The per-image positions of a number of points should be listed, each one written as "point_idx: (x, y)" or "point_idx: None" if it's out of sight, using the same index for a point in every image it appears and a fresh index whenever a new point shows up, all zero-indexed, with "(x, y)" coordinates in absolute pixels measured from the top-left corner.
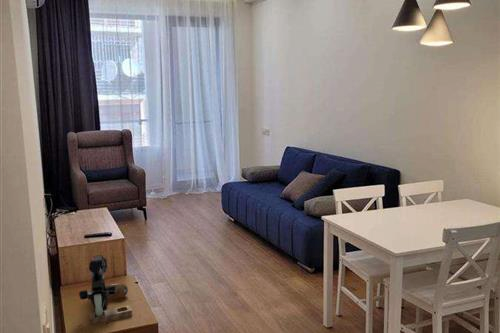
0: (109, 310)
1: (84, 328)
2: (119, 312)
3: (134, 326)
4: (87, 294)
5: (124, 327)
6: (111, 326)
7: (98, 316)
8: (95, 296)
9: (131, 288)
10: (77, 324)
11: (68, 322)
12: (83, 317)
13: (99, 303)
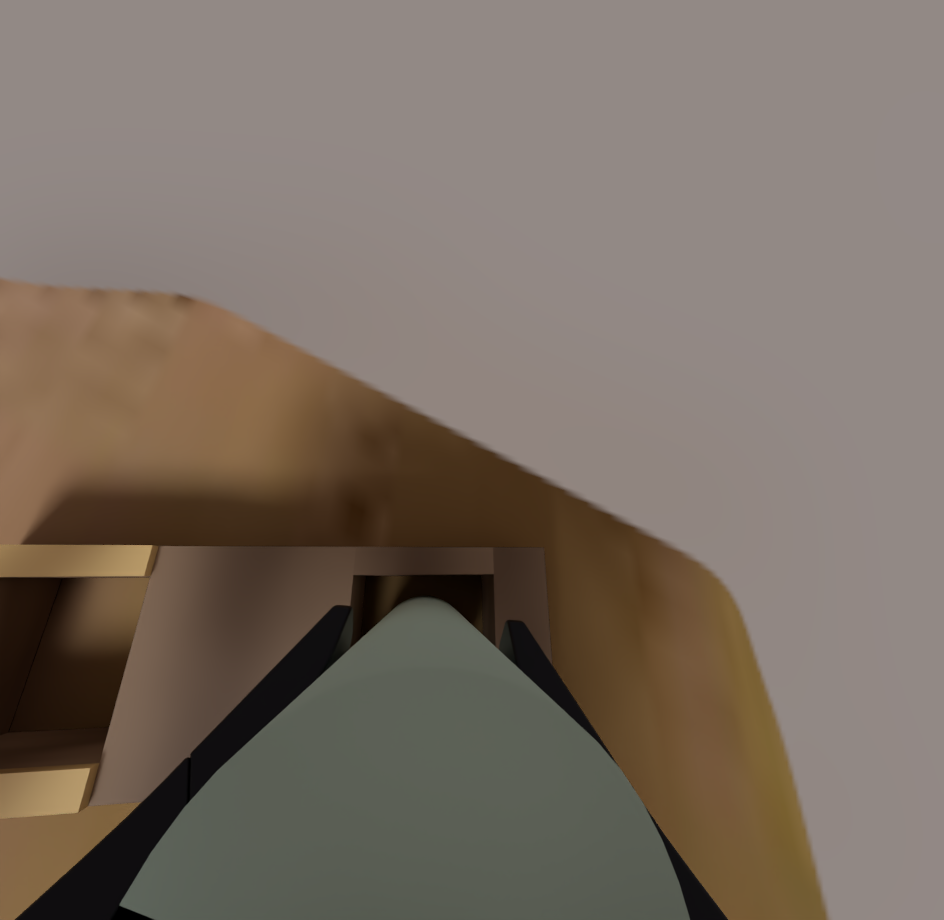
0: None
1: (588, 501)
2: (123, 554)
3: (126, 297)
4: None
5: (221, 327)
6: (332, 408)
7: (443, 601)
8: (572, 763)
9: None
10: (672, 641)
11: (788, 762)
12: None
13: (394, 618)
